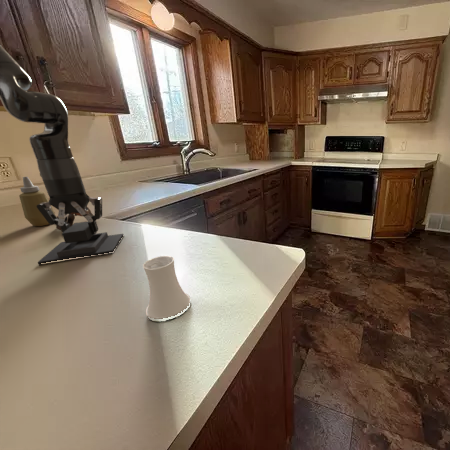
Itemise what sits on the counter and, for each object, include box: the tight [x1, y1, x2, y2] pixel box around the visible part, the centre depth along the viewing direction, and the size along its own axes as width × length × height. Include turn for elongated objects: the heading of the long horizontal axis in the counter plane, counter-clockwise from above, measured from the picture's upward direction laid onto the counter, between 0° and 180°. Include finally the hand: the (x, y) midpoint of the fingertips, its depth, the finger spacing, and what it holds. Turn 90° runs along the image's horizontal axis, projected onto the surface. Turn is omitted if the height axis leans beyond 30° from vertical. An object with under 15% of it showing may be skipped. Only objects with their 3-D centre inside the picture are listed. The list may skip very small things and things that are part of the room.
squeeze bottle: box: [18, 176, 56, 227], centre depth 90 cm, size 8×8×18 cm
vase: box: [142, 255, 191, 319], centre depth 45 cm, size 8×8×10 cm
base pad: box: [37, 231, 124, 264], centre depth 72 cm, size 16×14×2 cm
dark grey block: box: [61, 221, 94, 243], centre depth 70 cm, size 5×9×3 cm, turn 24°
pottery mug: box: [55, 213, 83, 231], centre depth 89 cm, size 12×9×8 cm
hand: (82, 234), depth 71 cm, fingers closed on dark grey block, 5 cm apart
